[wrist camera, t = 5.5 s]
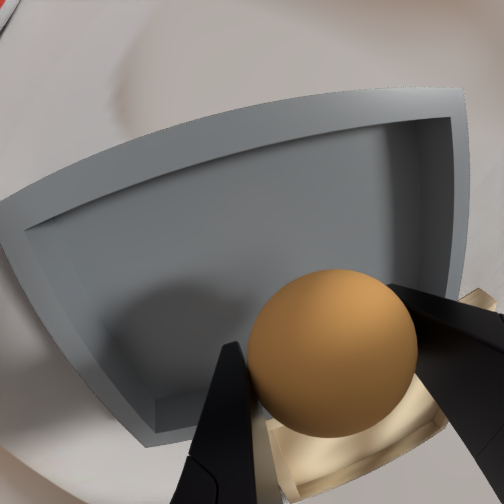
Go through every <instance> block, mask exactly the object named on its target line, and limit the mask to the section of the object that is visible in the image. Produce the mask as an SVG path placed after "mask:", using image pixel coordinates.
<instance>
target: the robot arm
mask: <svg viewBox="0 0 504 504" xmlns="http://www.w3.org/2000/svg"><path fill="white" fill-rule="evenodd" d="M386 286H387V287H388V288H390V289H391V290H392V291H393V292H394V293H395V294H396V295H397V296H398V297H399V299H400V300H401V301H402V302H403V304H404V305H405V307H406V308H407V310H408V312H409V314H410V316H411V319H412V321H413V323H414V327H415V332H416V336H417V347H418V356H417V364H416V369H415V374H416V375H417V377H418V378H419V380H420V381H421V382H422V384H423V385H424V386H425V388H426V389H427V391H428V392H429V393H430V395H431V396H432V398H433V399H434V400H435V402H436V403H437V405H438V406H439V407H440V409H441V410H442V412H443V413H444V415H445V416H446V417H447V419H448V420H449V422H450V423H451V425H452V426H453V427H454V429H455V431H456V432H457V433H458V435H459V436H460V438H461V439H462V441H463V442H464V444H465V445H466V447H467V448H468V450H469V451H470V453H471V455H472V456H473V458H475V461H476V463H477V464H478V466H479V467H480V469H481V470H482V472H483V474H484V475H485V477H486V479H487V480H488V482H489V484H490V485H491V487H492V488H493V490H494V492H495V493H496V495H497V497H498V499H499V500H500V502H501V503H502V504H504V314H501V313H500V314H498V313H497V312H494V311H490V310H487V309H483V308H480V307H476V306H473V305H469V304H465V303H462V302H458V301H455V300H451V299H448V298H444V297H440V296H437V295H433V294H430V293H426V292H422V291H419V290H415V289H412V288H408V287H404V286H401V285H397V284H393V283H390V284H387V285H386ZM188 454H189V455H190V456H187V458H186V461H185V465H184V468H183V471H182V474H181V477H180V479H179V482H178V485H177V488H176V490H175V493H174V495H173V497H172V499H171V502H170V504H283V502H282V498H281V493H280V488H279V484H278V479H277V474H276V469H275V465H274V460H273V455H272V450H271V445H270V440H269V435H268V430H267V425H266V421H265V417H264V413H263V410H262V407H261V404H260V401H259V400H258V398H257V396H256V394H255V391H254V389H253V386H252V383H251V379H250V376H249V373H248V369H247V363H246V360H245V357H244V355H243V352H242V349H241V346H240V344H239V342H238V341H233V342H230V343H226V344H224V345H223V346H222V348H221V351H220V354H219V358H218V361H217V364H216V367H215V370H214V373H213V377H212V380H211V383H210V386H209V389H208V392H207V396H206V399H205V402H204V405H203V408H202V411H201V415H200V418H199V421H198V424H197V427H196V430H195V434H194V437H193V440H192V443H191V446H190V449H189V452H188Z"/></svg>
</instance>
